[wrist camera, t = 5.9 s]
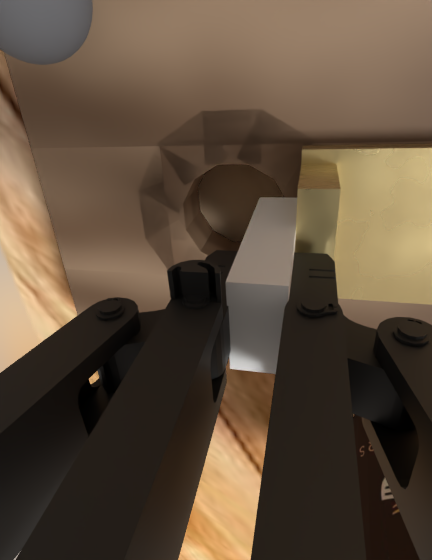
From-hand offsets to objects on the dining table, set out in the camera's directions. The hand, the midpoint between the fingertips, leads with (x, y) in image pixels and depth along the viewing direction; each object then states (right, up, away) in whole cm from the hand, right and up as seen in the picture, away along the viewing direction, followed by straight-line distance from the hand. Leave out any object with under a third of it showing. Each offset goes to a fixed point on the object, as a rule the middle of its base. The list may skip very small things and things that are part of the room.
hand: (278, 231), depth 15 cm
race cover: (+4, 0, 0) cm, 4 cm away
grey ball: (-8, +7, -3) cm, 11 cm away
